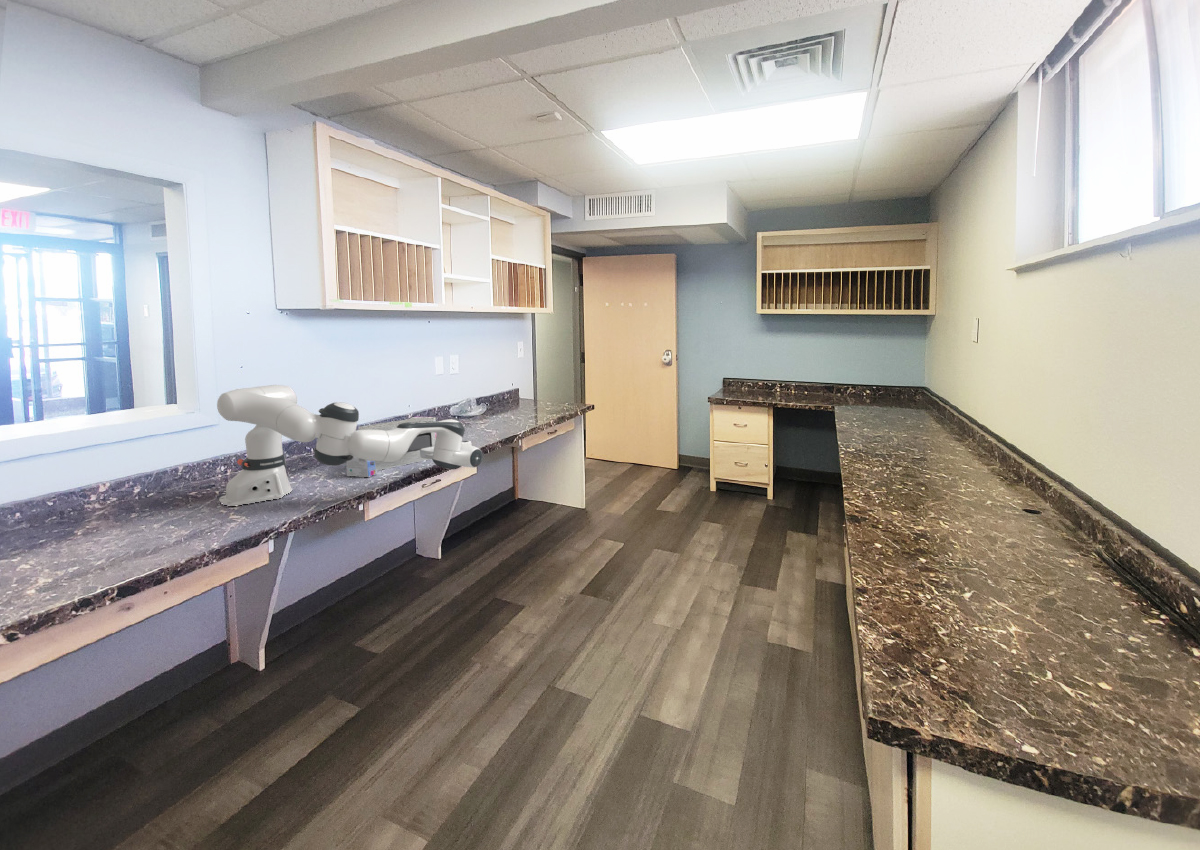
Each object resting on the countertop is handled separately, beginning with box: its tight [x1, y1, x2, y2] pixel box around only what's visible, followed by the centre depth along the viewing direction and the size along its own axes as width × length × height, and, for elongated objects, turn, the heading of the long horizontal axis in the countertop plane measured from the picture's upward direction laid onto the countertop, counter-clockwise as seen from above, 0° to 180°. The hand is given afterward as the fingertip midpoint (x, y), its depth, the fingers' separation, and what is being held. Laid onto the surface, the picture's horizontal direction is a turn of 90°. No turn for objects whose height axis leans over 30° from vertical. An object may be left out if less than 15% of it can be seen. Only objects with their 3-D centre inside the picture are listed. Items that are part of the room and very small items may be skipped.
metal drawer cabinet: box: [357, 416, 436, 472], centre depth 245 cm, size 30×9×18 cm, turn 137°
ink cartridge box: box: [345, 455, 377, 478], centre depth 227 cm, size 10×6×14 cm, turn 79°
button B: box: [408, 434, 430, 451], centre depth 247 cm, size 10×5×5 cm, turn 137°
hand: (435, 447), depth 237 cm, fingers closed
